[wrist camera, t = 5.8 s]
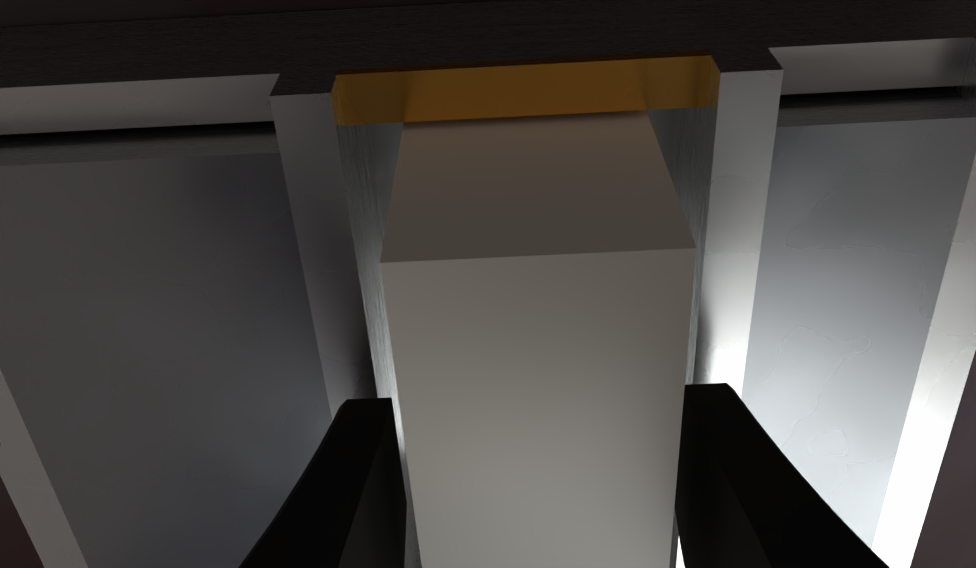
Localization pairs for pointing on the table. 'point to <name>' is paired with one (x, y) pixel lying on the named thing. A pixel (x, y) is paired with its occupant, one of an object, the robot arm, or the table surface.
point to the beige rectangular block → (539, 338)
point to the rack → (362, 221)
